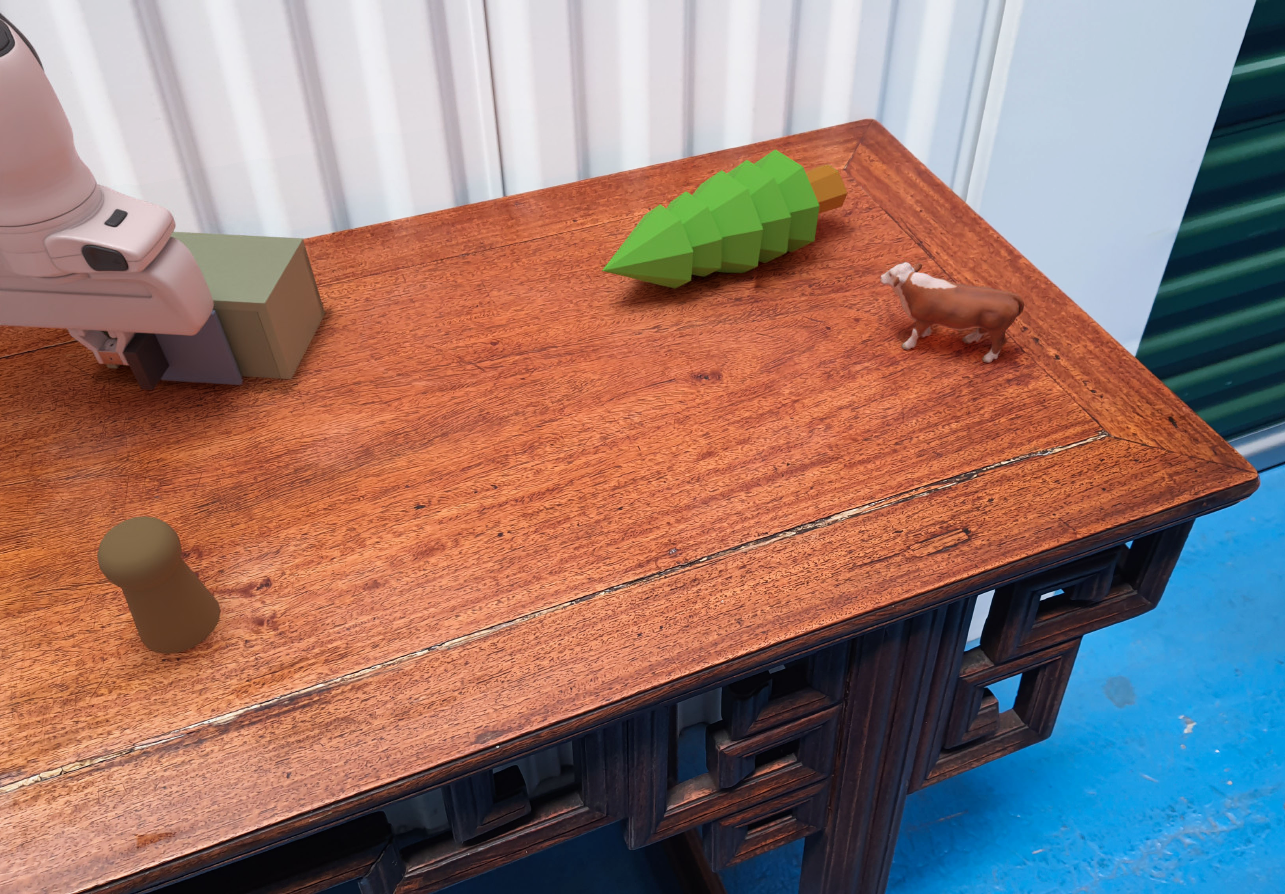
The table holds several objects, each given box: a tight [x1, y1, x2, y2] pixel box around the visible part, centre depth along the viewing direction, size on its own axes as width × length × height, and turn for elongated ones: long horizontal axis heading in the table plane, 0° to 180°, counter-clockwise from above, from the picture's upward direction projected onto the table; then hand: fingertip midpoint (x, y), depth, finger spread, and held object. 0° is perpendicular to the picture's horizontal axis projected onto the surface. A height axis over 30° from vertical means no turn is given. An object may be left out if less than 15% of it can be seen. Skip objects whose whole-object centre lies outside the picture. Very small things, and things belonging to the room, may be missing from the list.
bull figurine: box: [879, 261, 1025, 364], centre depth 95 cm, size 4×13×8 cm, turn 70°
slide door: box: [123, 310, 244, 391], centre depth 89 cm, size 9×4×8 cm, turn 84°
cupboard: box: [102, 231, 326, 380], centre depth 94 cm, size 18×12×10 cm, turn 84°
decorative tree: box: [601, 149, 848, 289], centre depth 103 cm, size 11×12×30 cm
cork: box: [96, 516, 221, 655], centre depth 71 cm, size 6×6×11 cm
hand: (119, 360), depth 88 cm, fingers closed
